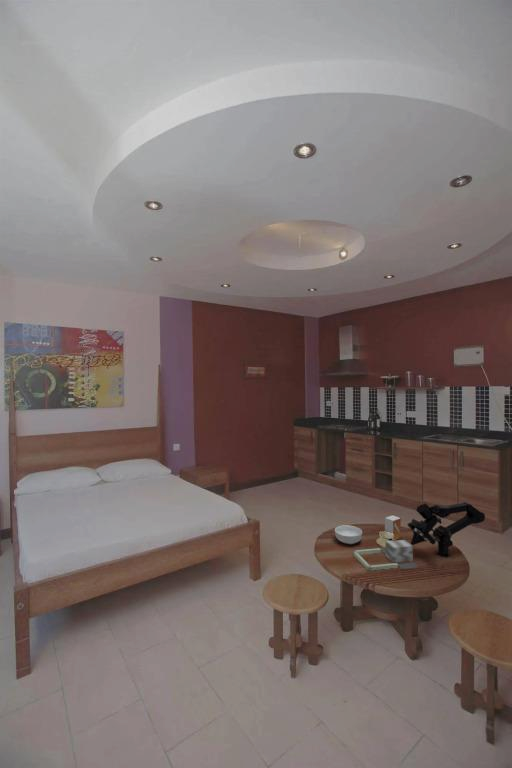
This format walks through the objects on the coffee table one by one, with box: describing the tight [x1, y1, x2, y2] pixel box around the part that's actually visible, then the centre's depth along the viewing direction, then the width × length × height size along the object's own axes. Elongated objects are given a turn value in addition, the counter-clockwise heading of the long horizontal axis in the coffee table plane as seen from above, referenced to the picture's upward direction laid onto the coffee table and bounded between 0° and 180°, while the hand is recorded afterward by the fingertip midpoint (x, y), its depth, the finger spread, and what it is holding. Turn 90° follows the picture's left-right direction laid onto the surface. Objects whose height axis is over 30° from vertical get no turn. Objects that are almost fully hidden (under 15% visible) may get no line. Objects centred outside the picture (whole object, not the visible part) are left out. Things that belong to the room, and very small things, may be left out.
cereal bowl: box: [334, 524, 363, 545], centre depth 224 cm, size 17×17×7 cm
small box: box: [384, 514, 402, 541], centre depth 228 cm, size 8×6×13 cm
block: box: [385, 539, 414, 563], centre depth 202 cm, size 12×8×8 cm, turn 98°
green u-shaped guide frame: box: [352, 547, 420, 572], centre depth 200 cm, size 28×23×2 cm
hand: (411, 544), depth 204 cm, fingers closed
